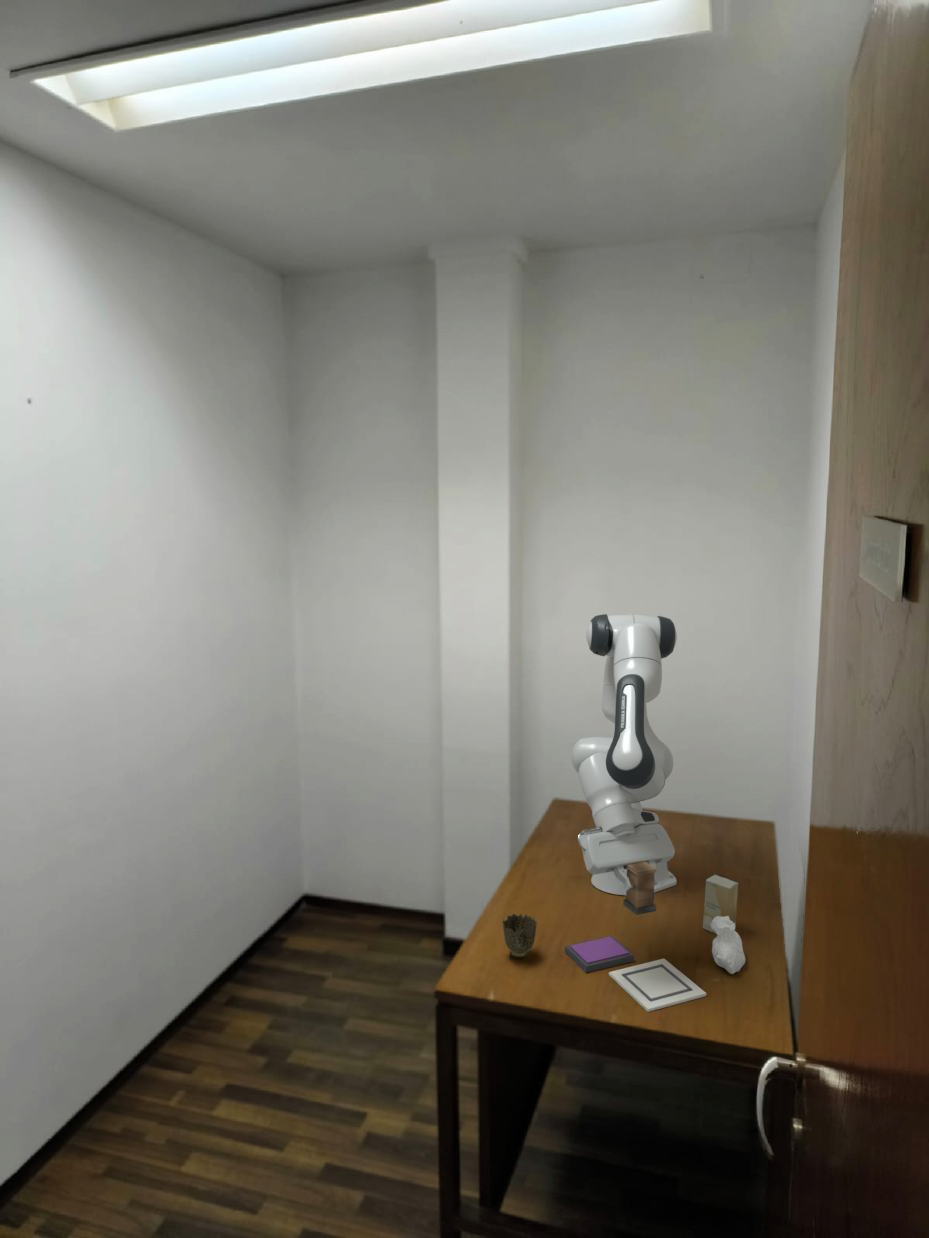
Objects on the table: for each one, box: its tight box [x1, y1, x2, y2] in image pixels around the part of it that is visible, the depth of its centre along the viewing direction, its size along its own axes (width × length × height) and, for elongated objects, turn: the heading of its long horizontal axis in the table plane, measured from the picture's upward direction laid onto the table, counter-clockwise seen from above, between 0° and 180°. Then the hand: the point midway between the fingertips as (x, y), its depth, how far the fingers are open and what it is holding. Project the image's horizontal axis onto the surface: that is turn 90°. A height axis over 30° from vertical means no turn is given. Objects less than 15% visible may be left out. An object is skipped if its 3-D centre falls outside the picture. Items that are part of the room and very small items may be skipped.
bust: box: [711, 916, 746, 975], centre depth 175 cm, size 12×8×11 cm
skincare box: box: [702, 874, 739, 935], centre depth 188 cm, size 6×4×12 cm
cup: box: [502, 913, 538, 960], centre depth 178 cm, size 8×7×8 cm
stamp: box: [622, 862, 657, 916], centre depth 167 cm, size 5×5×9 cm
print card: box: [608, 958, 707, 1013], centre depth 167 cm, size 14×14×1 cm
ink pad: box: [564, 935, 635, 974], centre depth 178 cm, size 12×9×2 cm
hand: (642, 886), depth 166 cm, fingers closed on stamp, 4 cm apart
